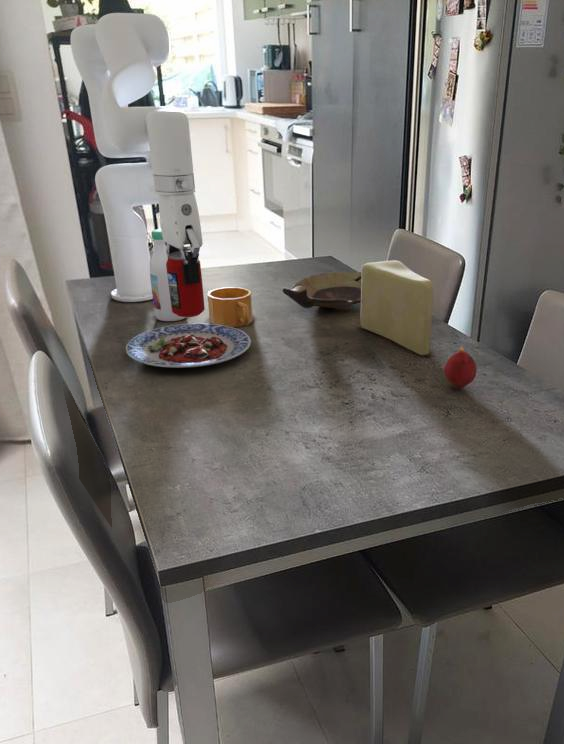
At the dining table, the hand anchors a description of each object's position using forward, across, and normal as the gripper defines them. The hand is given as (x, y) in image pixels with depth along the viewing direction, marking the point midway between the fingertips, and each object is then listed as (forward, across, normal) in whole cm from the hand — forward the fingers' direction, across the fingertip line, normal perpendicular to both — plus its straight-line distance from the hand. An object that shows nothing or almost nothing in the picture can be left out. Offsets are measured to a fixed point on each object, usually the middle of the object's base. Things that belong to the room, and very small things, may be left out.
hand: (184, 278), depth 140 cm
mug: (+15, +12, -16) cm, 25 cm away
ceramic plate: (+15, -1, +1) cm, 15 cm away
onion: (+16, -46, -34) cm, 59 cm away
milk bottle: (+15, +24, -5) cm, 29 cm away
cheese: (+15, -19, -41) cm, 48 cm away
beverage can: (+7, 0, 0) cm, 7 cm away
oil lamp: (+15, +12, -42) cm, 46 cm away
